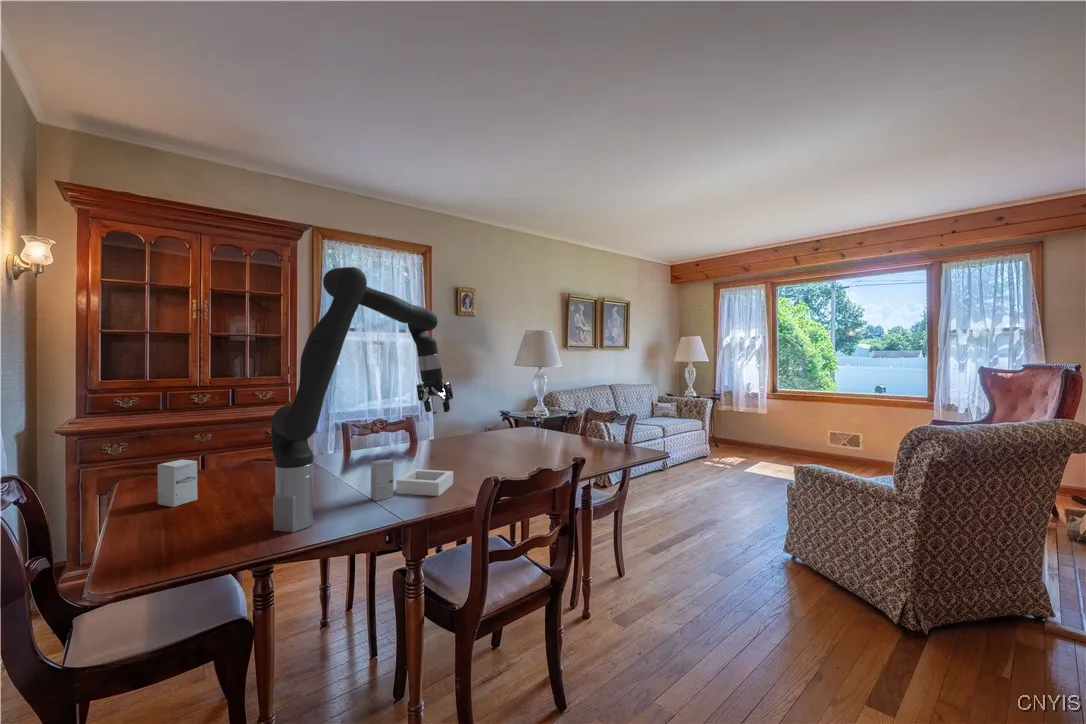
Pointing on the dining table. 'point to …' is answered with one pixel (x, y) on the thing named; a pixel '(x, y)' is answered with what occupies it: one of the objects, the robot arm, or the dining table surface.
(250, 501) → the dining table surface
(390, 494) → the skincare box
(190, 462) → the supplement box
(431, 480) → the well holder
